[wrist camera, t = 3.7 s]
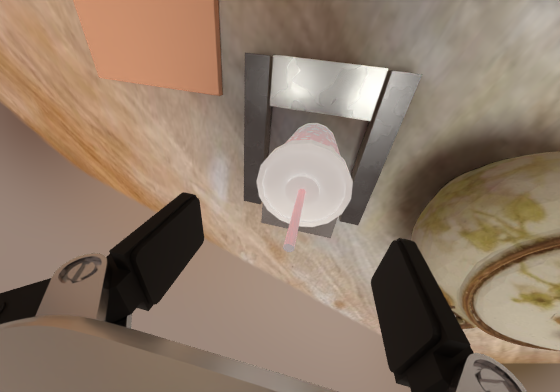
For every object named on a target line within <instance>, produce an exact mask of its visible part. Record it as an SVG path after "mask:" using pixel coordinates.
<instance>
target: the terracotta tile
mask: <svg viewBox="0 0 560 392" xmlns="http://www.w3.org/2000/svg"><path fill="white" fill-rule="evenodd" d="M73 2H74V5H75V8H76V10H77V13H78V16H79V19H80V22H81V25H82V28H83V31H84V34H85V37H86V40H87V43H88V46H89V49H90V52H91V55H92V58H93V61H94V64H95V67H96V70H97V73H98V76H99V78H105V79H112V80H118V81H125V82H132V83H138V84H145V85H151V86H158V87H165V88H171V89H178V90H184V91H191V92H198V93H204V94H211V95H218V96H220V95H223V91H222V70H221V48H220V27H219V6H218V0H73Z"/></svg>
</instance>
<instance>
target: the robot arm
mask: <svg viewBox="0 0 560 392" xmlns="http://www.w3.org/2000/svg"><path fill="white" fill-rule="evenodd" d="M203 241H204V233H203V225H202V217H201V209H200V201H199V199H198V198H197V197H196V195H194V194H189V193H181V194H180V195H179V196H178V197H176V198H175V199H174V200H173V201H171V202H170V203H169V204H167V205H166V206H165V207H164V208H162V209H161V210H160V211H159V212H157V213H156V214H155V215H154V216H152V217H151V218H150V219H149V220H147V221H146V222H145V223H144V224H142V225H141V226H140V227H139V228H137V229H136V230H135V231H134V232H132V233H131V234H130V235H129V236H127V237H126V238H125V239H124V240H122V241H121V242H120V243H119V244H117V245H116V246H115V247H114V248H113V249H111V250H110V251H109V252H110V254H109V255H108V256H107V257H105V256H104V255H102V254H100V253H91V254H85V255H82V256H78V257H76V258H74V259H72V260H70V261H68V262H66V263H65V264H63V265H62V266H61V267H60V268H59V269H57V270H56V272H55V273H54V275H53V276H52V278H50V279H47V280H43V281H40V282H37V283H33V284H30V285H27V286H24V287H20V288H17V289H13V290H10V291H7V292H4V293H0V392H338V391H335V390H332V389H329V388H325V387H322V386H319V385H316V384H312V383H309V382H306V381H302V380H299V379H296V378H293V377H290V376H287V375H283V374H280V373H277V372H274V371H270V370H267V369H264V368H260V367H257V366H254V365H251V364H247V363H244V362H241V361H238V360H234V359H231V358H227V357H224V356H221V355H218V354H214V353H211V352H208V351H204V350H201V349H198V348H195V347H191V346H188V345H184V344H181V343H178V342H174V341H171V340H167V339H164V338H161V337H158V336H154V335H151V334H147V333H144V332H141V331H137V330H134V329H131V320H132V313H133V311H134V310H135V309H136V308H140V309H143V310H147V311H149V310H150V308H151V307H152V306H153V305H154V304H157V303H158V302H159V301H160V300H161V299H162V297H163V296H164V294H165V293H166V292H167V291H168V289H169V288H170V287H171V285H172V284H173V283H174V281H175V280H176V279H177V277H178V276H179V275H180V273H181V272H182V270H183V269H184V268H185V266H186V265H187V264H188V262H189V261H190V259H191V258H192V257H193V256H194V254H195V253H196V252H197V250H198V249H199V248H200V246H201V245H202V244H203ZM371 286H372V291H373V296H374V300H375V305H376V310H377V314H378V319H379V324H380V328H381V333H382V338H383V342H384V347H385V351H386V356H387V361H388V365H389V369H390V371H391V372H393V373H394V376H395V380H396V383H398V384H401V385H404V386H408V387H410V388H411V392H527V391H526V390H525V388H524V387H523V385H522V384H521V383H520V382H519V381H518V380H517V378H516V377H515V376H514V375H513V374H512V373H511V372H510V371H509V370H507V369H506V368H505V367H504V366H503V365H502V364H500V363H499V362H497V361H496V360H494V359H492V358H490V357H488V356H486V355H484V354H479V353H473V351H472V349H471V347H470V343H469V341H468V339H467V338H466V336H465V334H464V332H463V330H462V328H461V326H460V325H459V323H458V321H457V319H456V317H455V315H454V313H453V311H452V310H451V308H450V306H449V304H448V302H447V300H446V298H445V297H444V295H443V293H442V291H441V289H440V287H439V285H438V284H437V282H436V280H435V278H434V276H433V274H432V272H431V270H430V269H429V267H428V265H427V263H426V261H425V259H424V257H423V256H422V254H421V252H420V250H419V248H418V246H417V244H416V243H415V242H414V241H411V240H406V239H401V238H399V239H397V241H393V242H392V243H391V245H390V247H389V249H388V250H387V252H386V254H385V256H384V257H383V259H382V261H381V263H380V265H379V266H378V268H377V270H376V272H375V273H374V275H373V277H372V280H371Z"/></svg>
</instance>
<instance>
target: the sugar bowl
mask: <svg viewBox="0 0 560 392" xmlns="http://www.w3.org/2000/svg"><path fill="white" fill-rule="evenodd" d="M411 241H414V242H415V243H416V244H417V246H418V248H419V250H420V252H421V254H422V256H423V257H424V259H425V261H426V263H427V265H428V267H429V269H430V270H431V272H432V274H433V276H434V278H435V280H436V282H437V284H438V285H439V287H440V289H441V291H442V293H443V295H444V297H445V298H446V300H447V302H448V304H449V306H450V308H451V310H452V311H453V313H454V314H455V316H456V319H457V321H458V323H459V325H460V326H461V328H462V329H468V328H474V327H478V328H480V329H481V330H483V331H484V332H486V333H488V334H490V335H492V336H494V337H497V338H499V339H502V340H505V341H508V342H511V343H514V344H518V345H522V346H527V347H532V348H539V349H546V350H554V351H560V151H557V152H544V153H538V154H531V155H525V156H519V157H514V158H509V159H504V160H501V161H498V162H494V163H491V164H488V165H486V166H483V167H481V168H478V169H475V170H472V171H469V172H467V173H465V174H462V175H460V176H458V177H456V178H455V179H453V180H451V181H450V182H449V183H447V184H446V185H445V186H444V187H443V188H442V189H440V191H439V192H438V193H437V194H436V195H435V197H434V198H433V199H432V200H431V201H430V202H429V203H428V204H427V206H426V207H425V209H424V210H423V212H422V213H421V215H420V216H419V218H418V220H417V222H416V224H415V226H414V229H413V232H412V237H411Z"/></svg>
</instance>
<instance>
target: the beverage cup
mask: <svg viewBox="0 0 560 392" xmlns="http://www.w3.org/2000/svg"><path fill="white" fill-rule="evenodd" d="M256 182H257V188H258V193H259V197H260V199H261V201H262V202H263V204H264V205H265V207H266V209H267V210H268V211H269V212H270V213H272V214H273V215H274V216H275V217H277V218H278V219H279V220H281V221H284V222H286V223H289V228H288V231H287V235H286V239H285V243H284V246H283V248H284V250H285V251H287V252H292V251H294V247H295V243H296V238H297V233H298V228H299V226H302V227H315V226H319V225H323V224H327V223H329V222H331V221H332V220H334V219H335V218H337V217H338V216H339V215H341V214H342V213H343V212H344V210H345V208H346V207H347V205H348V204H349V202H350V200H351V195H352V186H353V181H352V178H351V175H350V172H349V170H348V167H347V165H346V162H345V160H344V159H343V158H342V157H341V156H340V153H339V150H338V146H337V143H336V140H335V138H334V135H333V133H332V132H331V131H330V130H329V129H328V128H327V127H326V126H324V125H321V124H319V123H308V124H305V125H303V126H301V127H299V128H298V129H297V131H296V132H295V133H294V134H293V135H292V136H291V137H290V138H289V140H288V141H287V142H286V143H285V144H284V145H281V146H279V147H277V148H275V149H274V150H273V151H272V153H271V154H270V155H269V156H268V157H267V158H266V160H265V161H264V162H263V163H262V164H261V166H260V170H259V173H258V177H257V181H256Z"/></svg>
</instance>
